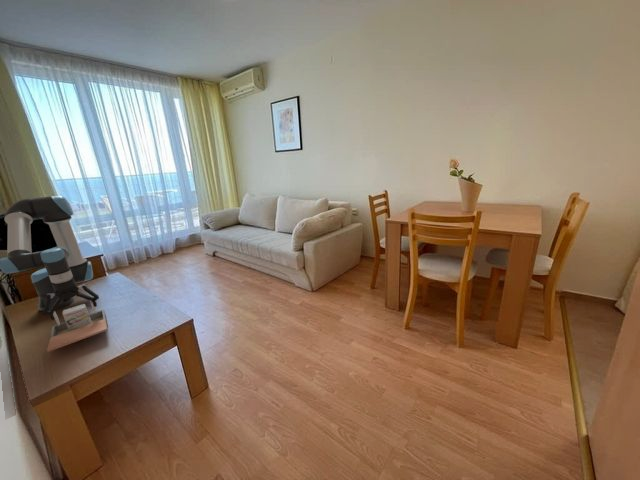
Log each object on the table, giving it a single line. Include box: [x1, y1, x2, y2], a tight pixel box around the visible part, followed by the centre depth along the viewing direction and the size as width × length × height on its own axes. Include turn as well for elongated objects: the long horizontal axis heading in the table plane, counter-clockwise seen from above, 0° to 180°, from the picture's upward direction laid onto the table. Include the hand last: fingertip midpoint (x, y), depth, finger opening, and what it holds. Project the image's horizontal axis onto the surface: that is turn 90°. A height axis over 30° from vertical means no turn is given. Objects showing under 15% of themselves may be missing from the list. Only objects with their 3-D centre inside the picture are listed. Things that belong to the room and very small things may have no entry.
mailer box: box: [50, 309, 109, 338], centre depth 129 cm, size 13×20×4 cm, turn 133°
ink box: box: [61, 303, 92, 331], centre depth 128 cm, size 8×5×12 cm, turn 134°
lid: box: [46, 319, 108, 353], centre depth 119 cm, size 13×20×1 cm, turn 133°
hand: (77, 318), depth 128 cm, fingers open, 13 cm apart
